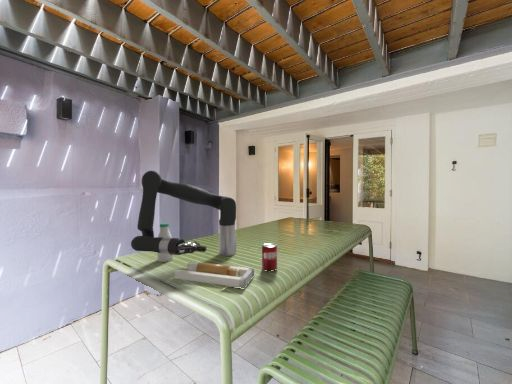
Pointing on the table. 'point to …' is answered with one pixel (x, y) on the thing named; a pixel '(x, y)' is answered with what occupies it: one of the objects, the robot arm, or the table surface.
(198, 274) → the white trough
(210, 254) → the table surface
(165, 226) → the milk bottle
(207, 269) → the amber bottle
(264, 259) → the soda can
